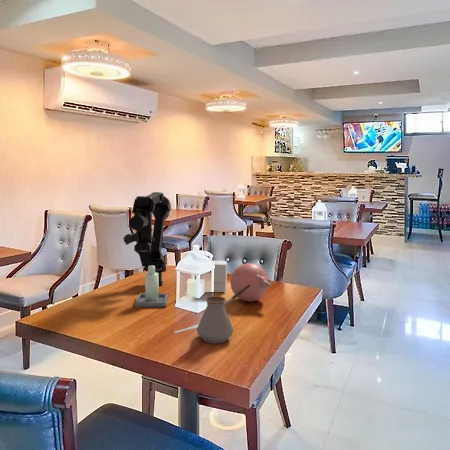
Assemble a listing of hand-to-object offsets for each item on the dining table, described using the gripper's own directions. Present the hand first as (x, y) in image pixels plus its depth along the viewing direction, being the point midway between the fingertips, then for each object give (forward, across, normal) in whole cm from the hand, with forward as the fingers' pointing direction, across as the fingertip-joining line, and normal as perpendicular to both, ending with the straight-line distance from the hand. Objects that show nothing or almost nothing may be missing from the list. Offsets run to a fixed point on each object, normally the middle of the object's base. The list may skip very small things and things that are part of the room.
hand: (144, 263), depth 171 cm
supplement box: (+13, -5, +31) cm, 34 cm away
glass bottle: (+12, +11, +4) cm, 17 cm away
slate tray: (+13, +11, +4) cm, 17 cm away
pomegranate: (+13, +11, +44) cm, 47 cm away
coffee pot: (+13, +43, +31) cm, 55 cm away
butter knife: (+14, +42, +14) cm, 46 cm away
